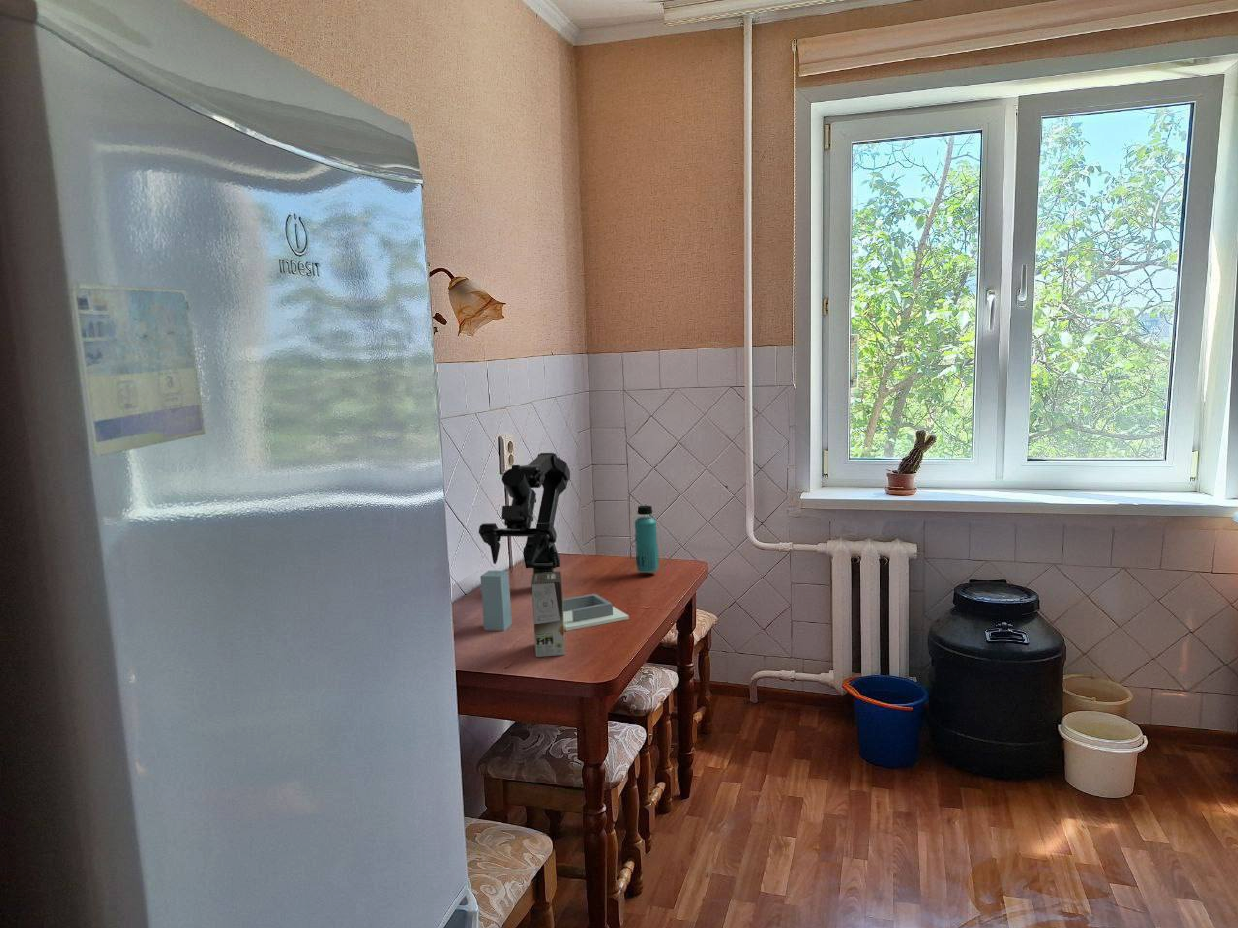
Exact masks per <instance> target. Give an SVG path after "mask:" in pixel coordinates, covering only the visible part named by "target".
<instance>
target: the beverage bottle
mask: <svg viewBox="0 0 1238 928" xmlns="http://www.w3.org/2000/svg"><path fill="white" fill-rule="evenodd" d="M651 514H653V509H652V506H651V505H640V506H638V507H637V515H642V516H639V517H638V518H636V520H634V530H635V532H634V537H635V539H634V540H635V560H636V562H635V563H636V566H635V567H636V570H637V572H641V573H654V572H656V571H658V570H659V566H660V564H659V548H658V534H657V533H658V532H657V520H656V519H655V518H653V516H645V515H651Z"/></svg>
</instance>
